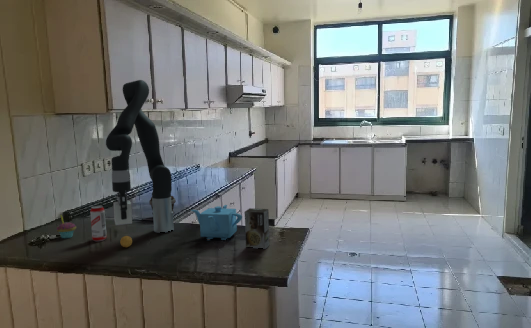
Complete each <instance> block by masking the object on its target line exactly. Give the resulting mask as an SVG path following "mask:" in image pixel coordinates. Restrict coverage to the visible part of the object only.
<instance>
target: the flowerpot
mask: <svg viewBox="0 0 531 328" xmlns="http://www.w3.org/2000/svg"><path fill="white" fill-rule="evenodd" d="M148 202H149V205H150V206H151V210H152V211H153V204H152V196H151V197H150V199H149V201H148ZM175 203H176V198H175V197H174V196H173V195H171V206H172V212H173V215H174V213H175V212H174V207H175ZM152 215H153V212H152Z"/></svg>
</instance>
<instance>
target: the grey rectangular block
mask: <svg viewBox="0 0 531 328" xmlns="http://www.w3.org/2000/svg"><path fill="white" fill-rule="evenodd" d="M112 204H113V217H114V219H113V221H114V225H115V226H121V225H129V224H130V225H131V224H133V211H132V210H133V209H132V202H131V201H130V200H127V211H126V213H127V219H124V220H122V219H121V210H120V206H119V202H118V201H113V203H112ZM123 207H125V205H122V208H123Z"/></svg>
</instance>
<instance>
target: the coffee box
mask: <svg viewBox="0 0 531 328" xmlns="http://www.w3.org/2000/svg"><path fill="white" fill-rule="evenodd" d="M269 217H270V215H269V208H254V207H253V208H251V207H249V208H247V210H245V211H244V226H245V231H244V232H245V248H246V247H253V248H252V249H258V248H263V249H262V250H265V249H267V248H268V247H269V246H270V219H269Z"/></svg>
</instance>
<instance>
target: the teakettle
mask: <svg viewBox="0 0 531 328" xmlns="http://www.w3.org/2000/svg"><path fill="white" fill-rule="evenodd" d="M190 211H191V212H193V213H194V214H195V215H196V219H197V223H198V224H199V228H200V238H201V237H202V238H206V239H214V238H220V241H221V240H226V239H227V240H228V239H230V238H231V237H232V236H233V235H234V234H235V233H236V232H237V231H238V226H237V225H238V224H239V223H240V222H241V220H242V219H243V216H242V214H240V213H237V209H236V208H228V204H224V205H223V206H220V205H219V206H218V205H217V206H214V207H211V208H210V207H209V208H208V207H207V209H205V210H203V211H202V212H200V211H199V210H197V209H191V210H190Z"/></svg>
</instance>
